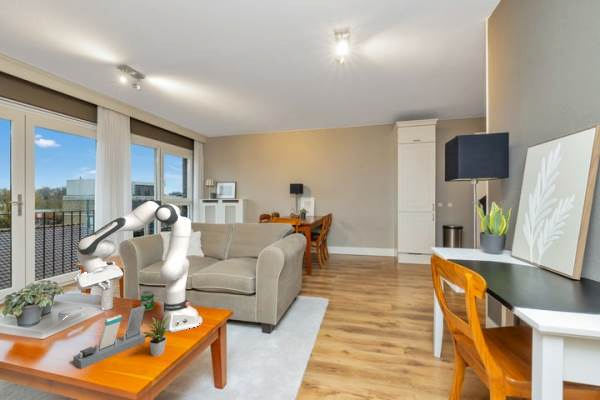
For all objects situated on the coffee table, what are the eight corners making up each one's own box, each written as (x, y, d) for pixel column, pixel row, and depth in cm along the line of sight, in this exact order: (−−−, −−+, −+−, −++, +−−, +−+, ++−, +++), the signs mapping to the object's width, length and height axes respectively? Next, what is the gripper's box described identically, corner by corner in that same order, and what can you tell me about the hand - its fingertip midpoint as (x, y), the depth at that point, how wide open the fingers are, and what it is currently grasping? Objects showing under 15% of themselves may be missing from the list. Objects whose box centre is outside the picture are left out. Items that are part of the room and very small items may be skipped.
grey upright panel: (137, 332, 138) (143, 305, 135) (138, 333, 137) (145, 306, 135) (124, 336, 133) (131, 309, 130) (126, 338, 132) (132, 310, 129)
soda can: (139, 309, 177) (139, 291, 177) (151, 306, 183) (151, 289, 183) (142, 312, 172) (143, 294, 172) (155, 309, 178) (155, 291, 178)
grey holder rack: (136, 337, 141) (136, 327, 141) (144, 341, 137) (145, 331, 137) (73, 362, 118) (73, 350, 118) (81, 369, 114) (81, 356, 114)
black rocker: (90, 349, 122) (90, 346, 122) (96, 350, 119) (96, 347, 119) (80, 353, 119) (80, 350, 119) (86, 354, 116) (85, 352, 116)
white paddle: (112, 341, 128) (120, 314, 125) (114, 343, 127) (122, 316, 124) (97, 347, 123) (105, 319, 120) (99, 349, 122) (107, 321, 119)
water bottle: (103, 311, 173) (104, 273, 174) (98, 309, 177) (99, 271, 177) (118, 307, 181) (119, 270, 181) (113, 305, 184) (114, 269, 185)
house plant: (154, 342, 136) (155, 310, 136) (180, 344, 134) (180, 312, 134) (134, 358, 121) (135, 323, 122) (162, 361, 120) (163, 325, 120)
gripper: (73, 272, 134) (85, 293, 130) (117, 260, 152) (128, 279, 147) (70, 280, 136) (82, 301, 132) (114, 268, 154) (125, 286, 150)
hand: (107, 289), depth 140 cm, fingers closed
